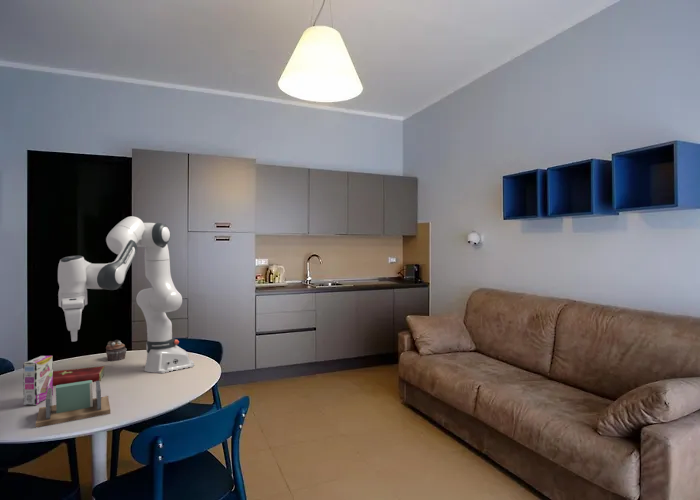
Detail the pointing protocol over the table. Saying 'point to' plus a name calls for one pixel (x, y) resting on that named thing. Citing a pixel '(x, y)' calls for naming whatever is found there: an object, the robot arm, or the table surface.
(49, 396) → the bookends
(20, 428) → the table surface
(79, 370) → the hardcover book
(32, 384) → the candy bar box
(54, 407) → the shelf board
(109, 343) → the cupcake
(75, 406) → the book
